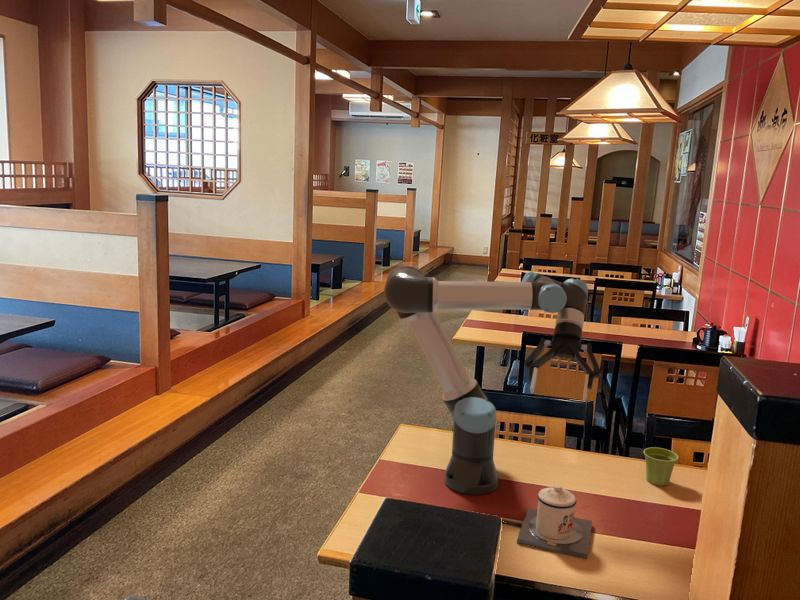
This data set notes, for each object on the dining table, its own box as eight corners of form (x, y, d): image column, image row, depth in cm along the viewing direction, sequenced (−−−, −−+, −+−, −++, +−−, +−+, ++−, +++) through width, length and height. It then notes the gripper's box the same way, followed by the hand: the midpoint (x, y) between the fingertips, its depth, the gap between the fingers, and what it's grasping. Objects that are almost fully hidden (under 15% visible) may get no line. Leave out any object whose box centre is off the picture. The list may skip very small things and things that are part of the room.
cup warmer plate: (488, 536, 154) (488, 530, 154) (502, 506, 169) (502, 501, 168) (586, 559, 146) (587, 552, 146) (591, 525, 161) (592, 519, 161)
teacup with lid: (563, 545, 149) (567, 499, 147) (528, 531, 154) (531, 486, 152) (584, 525, 158) (588, 481, 156) (551, 512, 163) (554, 470, 161)
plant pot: (671, 492, 180) (675, 463, 179) (637, 483, 185) (640, 455, 184) (677, 480, 188) (680, 452, 187) (644, 471, 193) (647, 444, 192)
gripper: (614, 340, 178) (606, 408, 167) (525, 330, 187) (512, 394, 176) (615, 325, 173) (607, 394, 161) (523, 315, 181) (509, 381, 170)
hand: (557, 394), depth 169 cm, fingers open, 13 cm apart
